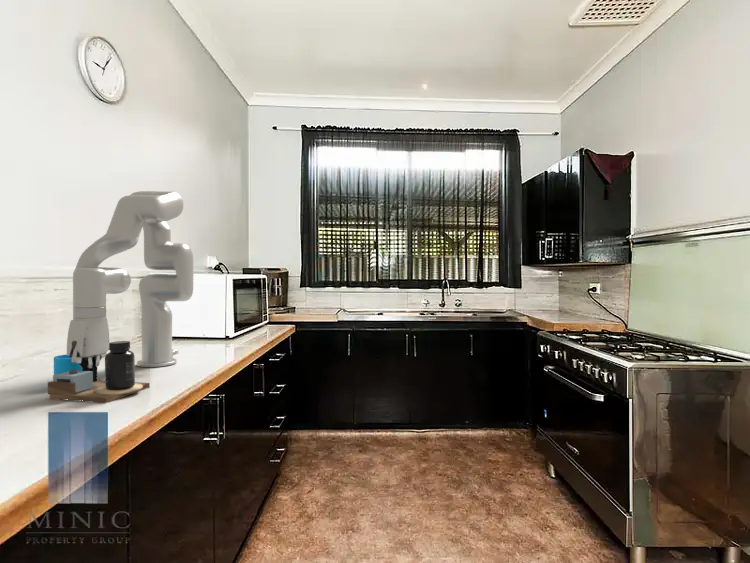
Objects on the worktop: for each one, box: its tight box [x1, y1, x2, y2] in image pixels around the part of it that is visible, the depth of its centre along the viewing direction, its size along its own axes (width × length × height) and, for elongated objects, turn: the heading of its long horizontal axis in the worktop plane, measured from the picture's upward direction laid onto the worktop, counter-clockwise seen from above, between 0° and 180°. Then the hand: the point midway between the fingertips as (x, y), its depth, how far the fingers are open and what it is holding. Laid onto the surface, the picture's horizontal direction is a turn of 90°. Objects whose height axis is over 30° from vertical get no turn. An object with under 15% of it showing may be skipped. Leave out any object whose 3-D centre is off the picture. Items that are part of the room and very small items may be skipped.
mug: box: [53, 353, 82, 375], centre depth 129 cm, size 12×8×8 cm
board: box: [47, 379, 151, 404], centre depth 119 cm, size 16×19×4 cm
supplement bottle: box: [104, 340, 136, 390], centre depth 118 cm, size 7×7×12 cm
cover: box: [52, 369, 93, 393], centre depth 116 cm, size 6×6×5 cm
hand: (89, 381), depth 121 cm, fingers closed
